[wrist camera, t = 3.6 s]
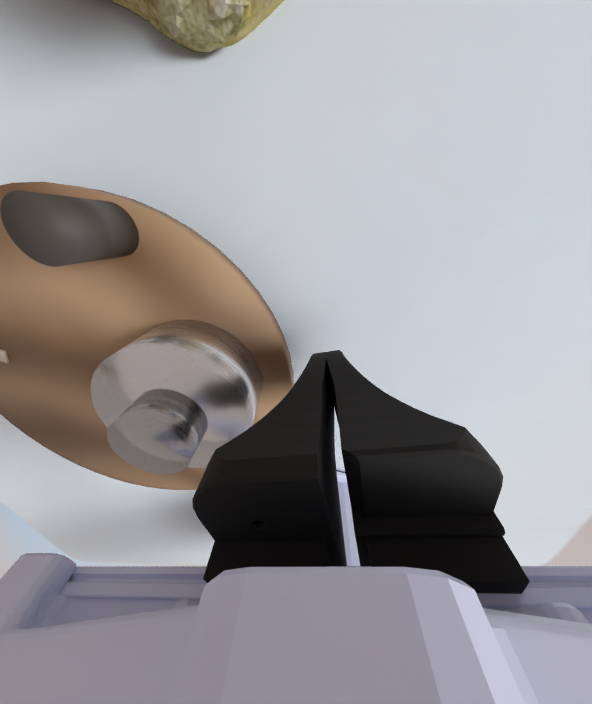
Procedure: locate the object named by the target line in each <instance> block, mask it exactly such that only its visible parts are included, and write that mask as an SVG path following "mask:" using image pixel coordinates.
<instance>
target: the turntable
mask: <svg viewBox="0 0 592 704" xmlns="http://www.w3.org/2000/svg"><path fill="white" fill-rule="evenodd" d="M181 319H184V320H197V321H202V322H206V323H210V324H212V325H215V326H218V327H220V328H222V329H224V330H225V331H227V332H229V333H230V334H232V335H233V336H235V337H236V338H237V339H239V340H240V341H241V342H242V343H243V344H244V345H245V346H246V347H247V348H248V349H249V350H250V352H251V353H252V354H253V356H254V357H255V359H256V361H257V363H258V365H259V367H260V370H261V373H262V378H263V391H262V396H261V399H260V402H259V406H258V409H257V412H256V415H255V419H254V422H253V425H254V424H255V423H257V422H258V421H259V420H260V419H262V418H263V417H264V416H265V415H266V414H268V413H269V412H270V411H271V410H272V409H273V408H274V407H275V406H276V405H277V404H279V403H280V401H281V400H282V399H283V398H284V397H285V396H286V395H287V394H288V392H289V391H290V390H291V389H292V387H293V386H294V382H293V369H292V364H291V358H290V354H289V351H288V348H287V345H286V342H285V339H284V335H283V333H282V331H281V329H280V327H279V325H278V323H277V321H276V319H275V317H274V315H273V313H272V311H271V310H270V308H269V307H268V305H267V304H266V302H265V301H264V299H263V298H262V296H261V294H260V293H259V291H258V290H257V289H256V288H255V287H254V285H253V284H252V283H251V282H250V281H249V279H248V278H247V277H246V276H245V275H244V274H243V272H242V271H241V270H240V269H239V268H238V267H237V266H236V265H235V264H234V263H233V262H232V261H231V260H230V259H228V258H227V257H226V256H225V255H224V254H223V253H222V252H221V251H220V250H219V249H218V248H217V247H215V246H214V245H213V244H211V243H210V242H209V241H207V240H206V239H205V238H203V237H202V236H201V235H199V234H198V233H197V232H195V231H194V230H193V229H191V228H189V227H187V226H186V225H184V224H182V223H181V222H179V221H177V220H175V219H174V218H172V217H170V216H169V215H167V214H165V213H163V212H161V211H159V210H156V209H154V208H152V207H149V206H147V205H145V204H143V203H140V202H138V201H136V200H133V199H130V198H126V197H123V196H119V195H116V194H112V193H109V192H105V191H101V190H95V189H89V188H83V187H77V186H70V185H62V184H55V183H48V182H26V183H10V184H5V185H1V186H0V414H1V415H2V416H4V417H5V418H6V419H7V420H8V421H9V422H10V423H12V424H13V425H14V426H16V427H17V428H18V429H20V430H21V431H22V432H24V433H25V434H26V435H28V436H29V437H31V438H32V439H34V440H35V441H37V442H38V443H40V444H41V445H43V446H44V447H46V448H48V449H49V450H51V451H53V452H55V453H56V454H58V455H60V456H62V457H64V458H66V459H68V460H70V461H72V462H74V463H76V464H78V465H80V466H82V467H84V468H87V469H89V470H92V471H94V472H96V473H99V474H102V475H105V476H108V477H110V478H113V479H117V480H120V481H124V482H128V483H132V484H136V485H141V486H146V487H153V488H160V489H172V490H194V489H197V488H198V486H199V483H200V481H201V479H202V477H203V474H204V472H205V470H206V467H204V468H188V467H186V468H185V469H184V470H182V471H180V472H177V473H173V474H157V473H151V472H147V471H144V470H141V469H139V468H136V467H134V466H132V465H130V464H129V463H127V462H126V461H124V460H123V459H121V458H120V457H119V456H118V455H117V454H116V453H115V452H114V451H113V449H112V448H111V446H110V445H109V443H108V440H107V430H108V428H107V427H106V425H105V424H104V423H103V421H102V420H101V419H100V417H99V415H98V413H97V412H96V410H95V407H94V405H93V402H92V397H91V388H90V387H91V380H92V377H93V374H94V372H95V370H96V369H97V367H98V366H99V365H100V364H101V363H102V362H103V361H104V360H105V359H106V358H108V357H109V356H111V355H112V354H114V353H116V352H117V351H119V350H120V349H122V348H123V347H125V346H127V345H128V344H130V343H131V342H133V341H134V340H136V339H138V338H139V337H141V336H142V335H144V334H146V333H147V332H149V331H150V330H152V329H153V328H155V327H157V326H158V325H161V324H163V323H165V322H169V321H173V320H181ZM253 425H252V426H253Z"/></svg>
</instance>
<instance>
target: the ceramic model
mask: <svg viewBox="0 0 592 704" xmlns="http://www.w3.org/2000/svg"><path fill="white" fill-rule="evenodd" d="M112 1H113V2H114V3H116V4H118V5H121V6H123V7H125V8H127V9H129V10H130V11H133V12H134V13H136V14H137V15H140V16H141V17H142V18H144V19H145V20H147V21H149V22H150V23H151V24H152V25H153V26H154V27H155V28H156V29H158V30H159V31H160V32H162V33H163V34H165V35H166V36H167V37H169V38H171V39H172V40H174V41H176V42H177V43H179V44H181V45H183V46H185V47H187V48H190V49H191V50H192V51H196V52H208V53H209V52H211V51H212V50H214V49H221V48H223V47H226V46H230V45H233V44H235V43H237V42H239V41H240V40H242V39H243V38H245V37H246V36H247V35H248V34H249V33H251V32H252V31H253V30H254V29H255V28H256V27H257V26H258V25H259V24H260V23H261V22H262V21H263V20H264V19H266V18H267V17H268V16H269V15H270V14H271V13H272V12H273V11H274V10H275V9H276V8H277V7H278V6H279V5H280V4H281V3H282V2H283V0H112Z"/></svg>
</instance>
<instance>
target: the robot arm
mask: <svg viewBox="0 0 592 704" xmlns="http://www.w3.org/2000/svg"><path fill="white" fill-rule="evenodd" d="M334 407H335V411H336V415H337V420H338V424H339V428H340V438H341V449H342V455H343V461H344V467H345V473H346V474H345V473H341V472H338V471H336V462H335V448H334ZM502 482H503V475H502V473H501V471H500V468H499V466H498V465H497V464H496V463H495V461H494V460H493V459H492V457H491V456H490V455H489V453H488V452H487V451H486V450H485V449H484V447H483V446H482V445H481V444H480V443H479V442H478V441H477V440H476V439H475V438H474V437H473V436H472V435H471V434H470V432H469V431H468V430H467V429H466V428H465V427H462V426H459V425H456V424H454V423H451V422H448V421H445V420H442V419H440V418H437V417H434V416H431V415H429V414H426V413H424V412H422V411H420V410H417V409H415V408H413V407H411V406H409V405H407V404H405V403H403V402H401V401H399V400H397V399H395V398H393V397H392V396H390V395H388V394H386V393H385V392H383V391H382V390H380V389H379V388H377V387H376V386H375V385H373V384H372V383H371V382H370V381H368V380H367V379H366V378H365V377H364V376H363V375H361V374H360V373H359V372H358V371H357V370H356V369H355V368H354V367H353V366H352V365H351V364H350V362H349V361H348V360H347V359H346V358H345V356H344V355H343V353H342V352H341V351H340V350H337V351H330V352H323V353H316V354H313V355H312V356H311V358H310V360H309V362H308V364H307V366H306V368H305V369H304V371H303V373H302V374H301V376H300V377H299V379H298V380H297V382H296V383H295V384H294V386H293V387H292V389H291V390H290V391H289V392H288V394H287V395H286V396H285V397H284V398H283V399H282V400H281V401H280V403H279V404H277V405H276V406H275V407H274V408H273V409H272V410H271V411H270V412H269V413H268V414H266V415H265V416H264V417H263V418H262V419H260V420H259V421H258V422H257V423H255V424H254V425H253V426H251V427H250V428H249V429H247V430H246V431H244V432H243V433H241V434H240V435H238V436H237V437H235V438H234V439H232V440H230V441H229V442H227V443H225V444H224V445H222V446H221V447H219V448H217V449H215V451H214V453H213V455H212V457H211V459H210V461H209V463H208V465H207V467H206V470H205V472H204V474H203V477H202V479H201V481H200V483H199V486H198V488H197V490H196V493H195V495H194V497H193V509H194V511H195V513H196V515H197V517H198V518H199V520H200V521H201V522H202V524H203V525H204V526H205V528H206V529H207V530H208V532H209V533H210V535H211V536H212V537H213V539H214V540H215V542H214V545H213V549H212V552H211V555H210V558H209V561H208V564H207V567H76V564H75V563H74V562H73V561H72V560H70V559H69V558H67V557H65V556H62V555H59V554H53V553H34V554H24V555H22V556H21V557H20V558H19V559H18V560H17V561H16V562H15V564H14V565H13V566H12V567H11V568H10V569H9V570H8V571H7V572H6V574H5V575H4V576H3V577H2V578H1V579H0V704H592V566H520V564H519V563H518V561H517V559H516V558H515V556H514V554H513V553H512V551H511V550H510V548H509V546H508V545H507V543H506V541H505V540H504V538H503V536H504V534H505V530H504V527H503V526H502V524H501V522H500V521H499V519H498V518H497V516H496V515H495V513H494V508H495V505H496V502H497V499H498V497H499V494H500V491H501V488H502Z"/></svg>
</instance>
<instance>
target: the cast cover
mask: <svg viewBox="0 0 592 704" xmlns="http://www.w3.org/2000/svg"><path fill="white" fill-rule="evenodd" d="M90 388H91V397H92V402H93V405H94V407H95V410H96V412H97V413H98V415H99V417H100V419H101V420H102V421H103V423H104V424H105V425H106V427H107V428H108V430H107V440H108V443H109V445H110V446H111V448H112V449H113V451H114V452H115V453H116V454H117V455H118V456H119V457H120V458H121V459H123V460H124V461H126V462H127V463H129V464H130V465H132V466H134V467H136V468H139V469H141V470H144V471H147V472H151V473H157V474H173V473H177V472H180V471H182V470H184V469H185V468H186V467H188V468H204V467H207V465H208V463H209V461H210V459H211V457H212V455H213V453H214V451H215V449H217V448H219V447H221V446H222V445H224V444H225V443H227V442H229V441H230V440H232V439H234V438H235V437H237V436H238V435H240V434H241V433H243V432H244V431H246V430H247V429H249V428H250V427H251V426H252V425H253V422H254V419H255V415H256V412H257V409H258V406H259V402H260V399H261V396H262V391H263V378H262V373H261V370H260V367H259V365H258V363H257V361H256V359H255V357H254V356H253V354H252V353H251V352H250V350H249V349H248V348H247V347H246V346H245V345H244V344H243V343H242V342H241V341H240V340H239V339H237V338H236V337H235V336H233V335H232V334H230V333H229V332H227V331H225V330H224V329H222V328H220V327H218V326H215V325H212V324H210V323H206V322H202V321H197V320H184V319H181V320H173V321H169V322H165V323H163V324H161V325H158V326H157V327H155V328H153V329H152V330H150V331H149V332H147V333H146V334H144V335H142V336H141V337H139V338H138V339H136V340H134V341H133V342H131V343H130V344H128V345H127V346H125V347H123V348H122V349H120V350H119V351H117V352H116V353H114V354H112V355H111V356H109V357H108V358H106V359H105V360H104V361H103V362H102V363H101V364H100V365H99V366H98V367H97V369H96V370H95V372H94V374H93V377H92V380H91V387H90Z"/></svg>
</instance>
